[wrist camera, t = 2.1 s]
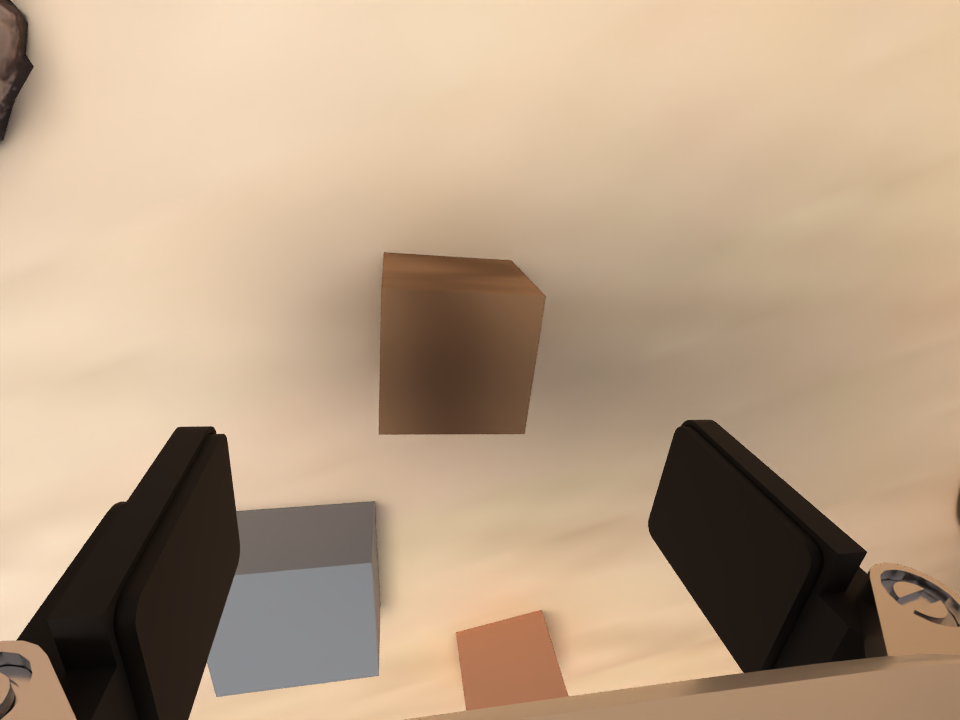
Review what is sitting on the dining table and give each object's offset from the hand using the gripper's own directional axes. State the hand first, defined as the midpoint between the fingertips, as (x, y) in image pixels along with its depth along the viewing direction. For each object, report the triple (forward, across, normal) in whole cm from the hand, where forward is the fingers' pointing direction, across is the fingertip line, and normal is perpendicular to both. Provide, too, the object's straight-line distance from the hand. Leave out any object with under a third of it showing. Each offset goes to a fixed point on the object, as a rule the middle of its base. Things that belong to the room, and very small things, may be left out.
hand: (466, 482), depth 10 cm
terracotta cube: (+11, -6, +21) cm, 24 cm away
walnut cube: (+11, -1, 0) cm, 11 cm away
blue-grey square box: (+11, +5, +13) cm, 18 cm away
